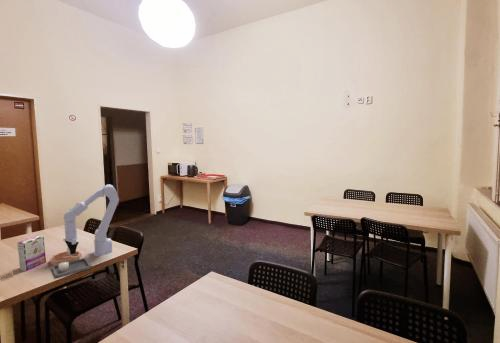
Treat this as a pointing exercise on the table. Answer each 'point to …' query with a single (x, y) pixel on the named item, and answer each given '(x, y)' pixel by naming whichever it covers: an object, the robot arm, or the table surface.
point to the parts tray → (72, 267)
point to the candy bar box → (31, 253)
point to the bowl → (64, 258)
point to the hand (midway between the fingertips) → (72, 252)
